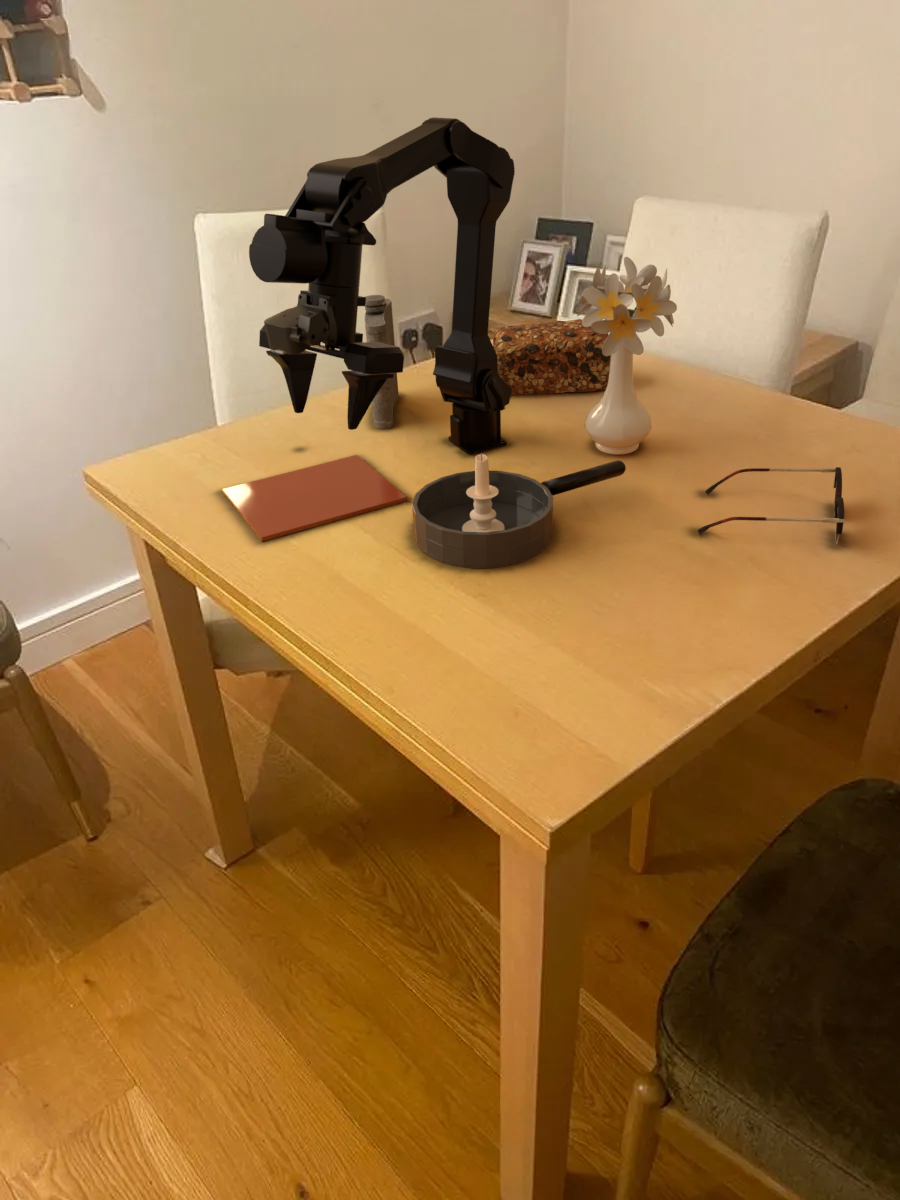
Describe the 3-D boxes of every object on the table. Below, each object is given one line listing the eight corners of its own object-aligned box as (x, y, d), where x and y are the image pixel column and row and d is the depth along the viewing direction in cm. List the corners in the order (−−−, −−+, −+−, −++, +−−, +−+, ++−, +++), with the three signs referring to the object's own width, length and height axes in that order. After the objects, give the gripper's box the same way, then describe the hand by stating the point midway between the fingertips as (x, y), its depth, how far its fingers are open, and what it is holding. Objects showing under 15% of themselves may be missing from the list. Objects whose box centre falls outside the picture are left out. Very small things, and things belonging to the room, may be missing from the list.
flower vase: (580, 477, 131) (587, 290, 117) (568, 424, 146) (573, 253, 133) (678, 474, 130) (695, 285, 117) (655, 421, 146) (669, 249, 132)
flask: (369, 429, 148) (357, 311, 138) (377, 395, 160) (367, 284, 150) (393, 428, 148) (383, 310, 138) (399, 394, 160) (390, 283, 150)
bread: (603, 371, 165) (605, 312, 159) (610, 394, 156) (613, 332, 151) (493, 374, 166) (492, 316, 160) (494, 397, 157) (493, 336, 151)
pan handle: (619, 470, 126) (619, 456, 125) (628, 476, 125) (629, 461, 124) (534, 495, 121) (534, 481, 120) (543, 501, 120) (543, 486, 119)
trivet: (357, 458, 139) (356, 454, 139) (407, 501, 127) (406, 496, 127) (222, 493, 131) (221, 489, 131) (261, 541, 119) (261, 537, 119)
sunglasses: (840, 554, 111) (845, 515, 109) (696, 546, 116) (697, 509, 113) (837, 500, 122) (841, 464, 120) (705, 495, 127) (707, 460, 124)
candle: (505, 540, 116) (504, 461, 111) (462, 542, 117) (458, 462, 111) (504, 520, 121) (503, 442, 115) (462, 521, 121) (459, 444, 115)
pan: (506, 490, 128) (505, 459, 126) (579, 543, 116) (580, 509, 113) (392, 523, 122) (389, 491, 120) (456, 583, 109) (455, 548, 107)
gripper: (224, 271, 109) (220, 409, 115) (341, 295, 99) (330, 445, 105) (298, 274, 118) (291, 403, 123) (413, 296, 107) (399, 435, 113)
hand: (324, 420), depth 116 cm, fingers open, 9 cm apart
